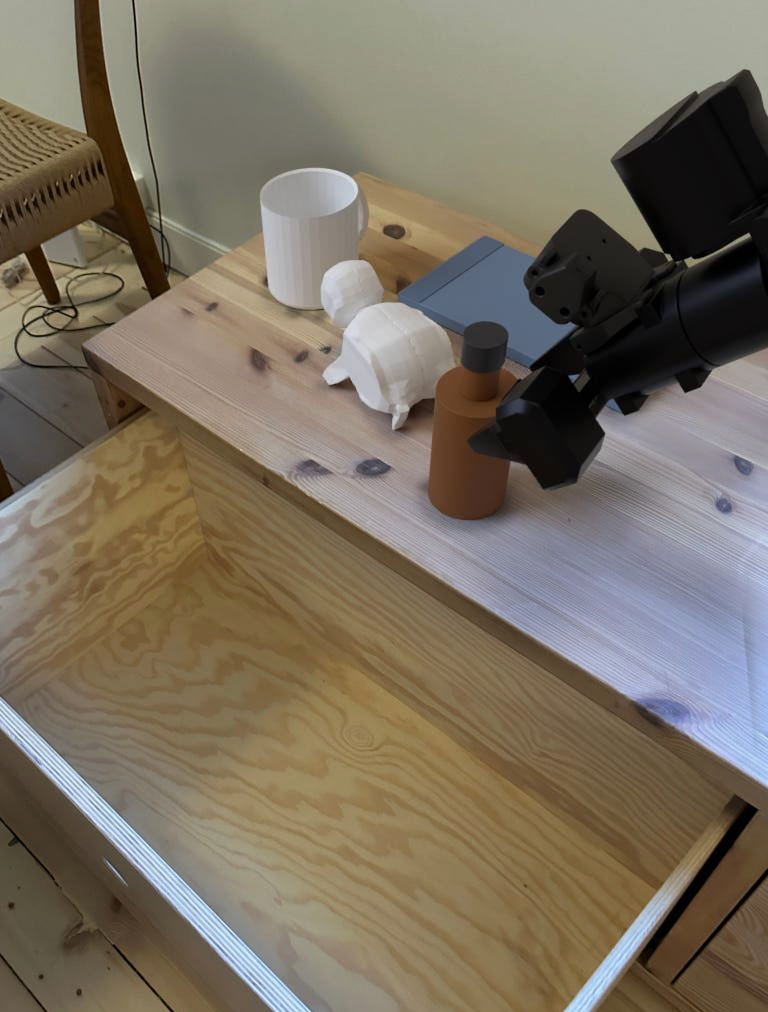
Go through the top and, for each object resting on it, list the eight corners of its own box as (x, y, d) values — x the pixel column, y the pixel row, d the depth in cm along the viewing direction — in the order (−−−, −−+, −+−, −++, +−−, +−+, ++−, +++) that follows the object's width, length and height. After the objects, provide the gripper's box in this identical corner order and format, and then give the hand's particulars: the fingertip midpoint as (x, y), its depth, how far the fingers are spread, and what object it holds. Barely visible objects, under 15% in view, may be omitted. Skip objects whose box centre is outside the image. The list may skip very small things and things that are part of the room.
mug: (300, 322, 86) (294, 229, 79) (251, 281, 91) (241, 189, 83) (400, 277, 89) (404, 184, 82) (348, 239, 94) (347, 148, 87)
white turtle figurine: (451, 418, 81) (365, 291, 84) (481, 362, 73) (385, 224, 76) (372, 455, 79) (287, 324, 82) (394, 402, 71) (299, 258, 74)
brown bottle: (507, 470, 72) (534, 310, 61) (501, 524, 69) (528, 365, 57) (433, 462, 73) (445, 305, 62) (423, 515, 70) (434, 358, 58)
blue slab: (705, 341, 80) (709, 328, 79) (622, 414, 75) (626, 401, 74) (481, 246, 92) (483, 234, 91) (397, 304, 87) (397, 291, 86)
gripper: (701, 115, 52) (503, 245, 65) (556, 276, 43) (362, 387, 56) (789, 279, 55) (583, 371, 68) (670, 458, 46) (462, 523, 60)
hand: (503, 407), depth 63 cm, fingers open, 9 cm apart
